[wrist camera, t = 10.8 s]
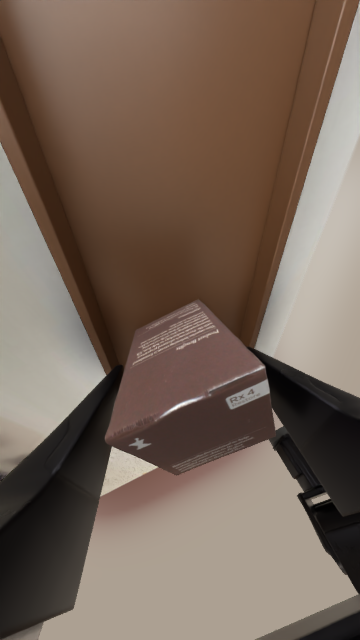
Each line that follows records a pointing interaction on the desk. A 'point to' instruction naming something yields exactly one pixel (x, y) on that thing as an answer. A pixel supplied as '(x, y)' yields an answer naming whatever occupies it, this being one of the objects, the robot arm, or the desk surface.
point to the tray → (166, 147)
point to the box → (190, 393)
